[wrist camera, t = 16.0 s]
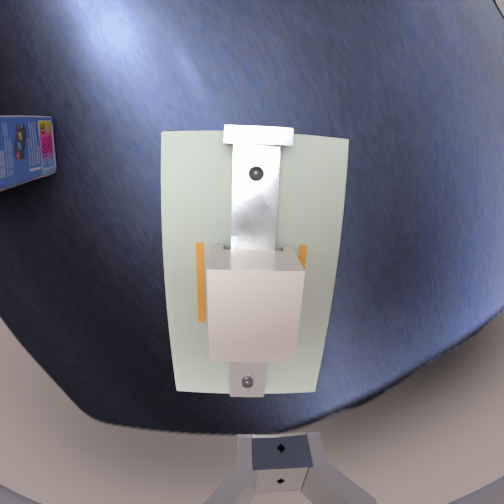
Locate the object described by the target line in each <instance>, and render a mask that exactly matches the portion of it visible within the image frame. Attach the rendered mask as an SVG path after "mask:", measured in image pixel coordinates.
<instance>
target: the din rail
mask: <svg viewBox="0 0 504 504" xmlns="http://www.w3.org/2000/svg"><path fill="white" fill-rule="evenodd" d="M293 132H294V128H288V127H272V126H252V125H224V144H234V145H233V176H232V213H231V249H232V250H274V251H275V242H276V225H277V208H278V189H279V169H280V148H281V146H284V147H288V146H293ZM266 366H267V362H230V397H264V390H265V378H266Z"/></svg>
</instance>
